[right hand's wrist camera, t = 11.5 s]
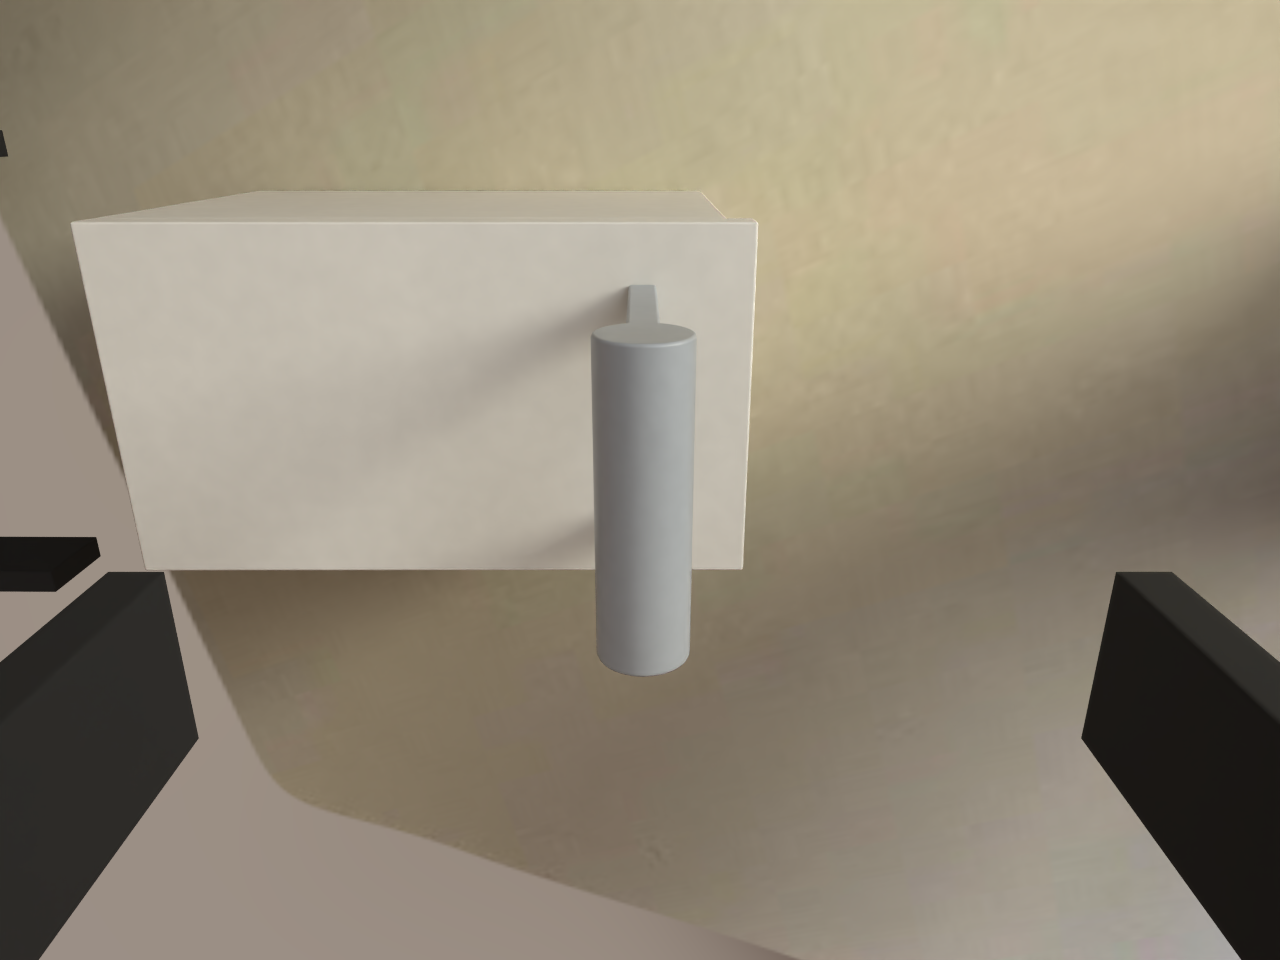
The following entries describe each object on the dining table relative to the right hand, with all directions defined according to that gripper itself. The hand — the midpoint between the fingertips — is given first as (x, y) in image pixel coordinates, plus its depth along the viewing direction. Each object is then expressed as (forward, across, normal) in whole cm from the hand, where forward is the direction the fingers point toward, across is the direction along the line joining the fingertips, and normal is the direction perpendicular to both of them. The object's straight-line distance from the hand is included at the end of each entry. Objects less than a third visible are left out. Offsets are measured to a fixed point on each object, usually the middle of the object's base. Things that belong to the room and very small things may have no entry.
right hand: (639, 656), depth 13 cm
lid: (+13, -6, 0) cm, 14 cm away
